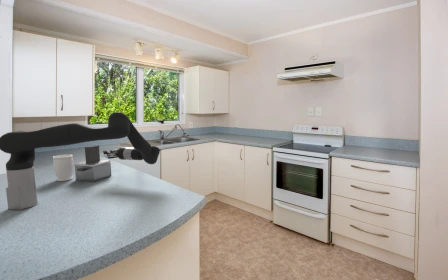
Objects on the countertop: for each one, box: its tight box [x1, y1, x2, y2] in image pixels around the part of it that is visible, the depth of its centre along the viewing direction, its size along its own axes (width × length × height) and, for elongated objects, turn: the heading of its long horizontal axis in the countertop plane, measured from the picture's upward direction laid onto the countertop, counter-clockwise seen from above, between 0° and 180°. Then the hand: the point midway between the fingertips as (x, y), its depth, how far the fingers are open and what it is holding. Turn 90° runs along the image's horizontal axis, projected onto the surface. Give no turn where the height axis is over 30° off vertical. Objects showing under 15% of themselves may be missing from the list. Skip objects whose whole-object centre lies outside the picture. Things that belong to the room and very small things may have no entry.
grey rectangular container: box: [74, 162, 112, 183], centre depth 150 cm, size 20×14×9 cm
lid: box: [74, 144, 111, 167], centre depth 148 cm, size 14×14×11 cm
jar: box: [52, 153, 75, 182], centre depth 146 cm, size 11×10×15 cm
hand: (104, 152), depth 146 cm, fingers closed
